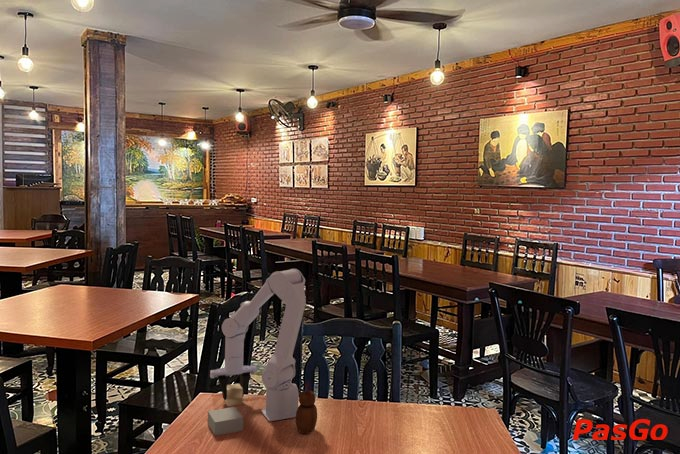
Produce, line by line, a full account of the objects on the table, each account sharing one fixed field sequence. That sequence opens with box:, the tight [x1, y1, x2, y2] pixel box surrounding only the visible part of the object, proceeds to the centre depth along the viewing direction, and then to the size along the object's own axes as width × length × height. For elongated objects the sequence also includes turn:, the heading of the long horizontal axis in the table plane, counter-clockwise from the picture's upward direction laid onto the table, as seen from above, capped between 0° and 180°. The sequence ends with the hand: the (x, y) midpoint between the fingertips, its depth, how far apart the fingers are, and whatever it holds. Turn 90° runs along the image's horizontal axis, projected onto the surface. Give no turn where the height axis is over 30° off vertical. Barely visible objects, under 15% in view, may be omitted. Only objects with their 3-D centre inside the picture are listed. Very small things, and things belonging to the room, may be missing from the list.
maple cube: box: [223, 383, 244, 407], centre depth 162 cm, size 5×5×5 cm
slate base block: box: [207, 406, 244, 436], centre depth 145 cm, size 8×8×4 cm
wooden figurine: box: [295, 380, 318, 435], centre depth 144 cm, size 7×6×15 cm
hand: (233, 397), depth 162 cm, fingers closed on maple cube, 5 cm apart
